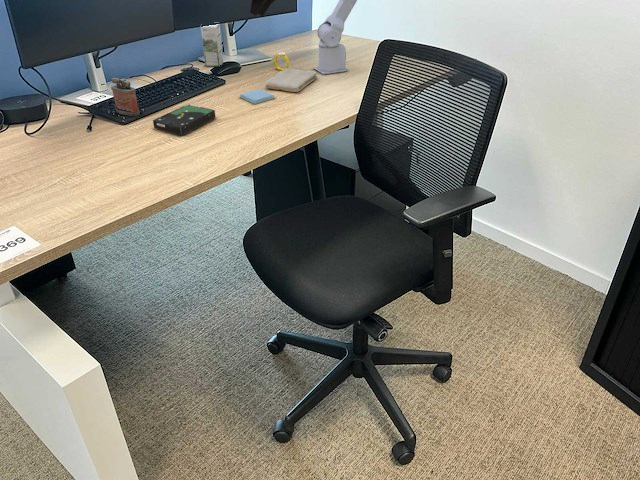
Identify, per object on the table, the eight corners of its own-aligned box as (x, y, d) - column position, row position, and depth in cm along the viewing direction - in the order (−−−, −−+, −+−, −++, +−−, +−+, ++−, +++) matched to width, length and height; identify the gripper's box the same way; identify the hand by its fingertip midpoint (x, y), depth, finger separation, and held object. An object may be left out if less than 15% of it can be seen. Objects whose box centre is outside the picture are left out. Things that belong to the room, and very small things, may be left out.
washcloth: (318, 78, 186) (318, 69, 184) (298, 94, 172) (298, 84, 170) (287, 74, 189) (286, 65, 188) (265, 89, 175) (264, 80, 174)
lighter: (142, 112, 158) (136, 79, 152) (134, 116, 155) (128, 82, 149) (121, 108, 160) (114, 75, 155) (113, 112, 158) (106, 78, 152)
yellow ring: (272, 69, 194) (272, 52, 191) (277, 67, 196) (276, 51, 192) (286, 72, 191) (286, 55, 188) (290, 70, 193) (290, 53, 190)
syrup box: (223, 62, 201) (220, 22, 193) (219, 67, 196) (215, 25, 188) (209, 62, 201) (204, 21, 193) (204, 66, 196) (199, 25, 188)
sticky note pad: (259, 92, 173) (259, 88, 173) (274, 98, 169) (273, 94, 168) (240, 97, 169) (240, 94, 168) (254, 104, 164) (254, 100, 164)
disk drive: (182, 137, 144) (216, 118, 154) (181, 127, 142) (215, 109, 153) (153, 129, 148) (188, 112, 158) (151, 120, 146) (187, 103, 157)
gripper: (268, -31, 178) (252, 9, 183) (255, -36, 165) (238, 7, 170) (287, -20, 178) (270, 19, 183) (275, -24, 165) (258, 18, 170)
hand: (256, 14), depth 177 cm, fingers open, 7 cm apart
